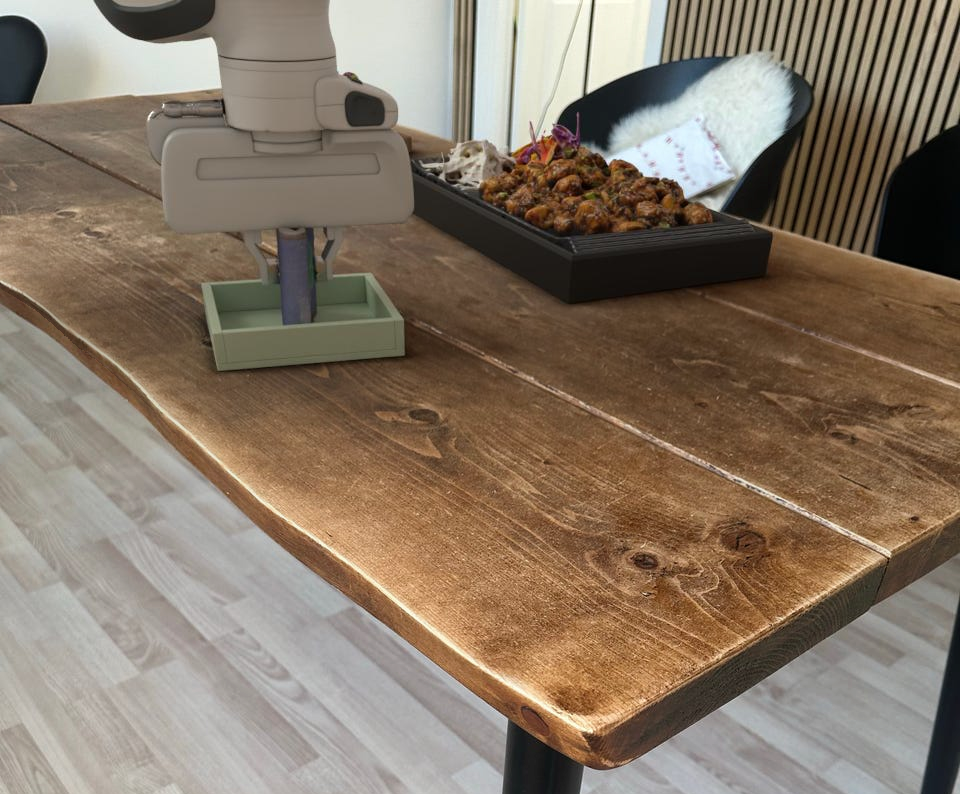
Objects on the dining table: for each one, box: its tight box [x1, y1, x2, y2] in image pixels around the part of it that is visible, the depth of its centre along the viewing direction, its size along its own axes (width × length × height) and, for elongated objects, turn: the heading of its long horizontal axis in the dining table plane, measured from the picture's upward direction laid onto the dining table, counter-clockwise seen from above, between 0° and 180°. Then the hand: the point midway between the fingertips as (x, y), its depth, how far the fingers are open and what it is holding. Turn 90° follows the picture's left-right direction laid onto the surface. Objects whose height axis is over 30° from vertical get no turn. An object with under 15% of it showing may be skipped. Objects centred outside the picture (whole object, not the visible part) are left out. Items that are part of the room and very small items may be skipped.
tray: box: [200, 272, 406, 372], centre depth 84 cm, size 16×14×3 cm
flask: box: [275, 227, 317, 325], centre depth 82 cm, size 9×3×11 cm, turn 4°
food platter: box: [410, 111, 774, 304], centre depth 112 cm, size 45×25×10 cm, turn 26°
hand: (297, 281), depth 83 cm, fingers closed on flask, 3 cm apart
